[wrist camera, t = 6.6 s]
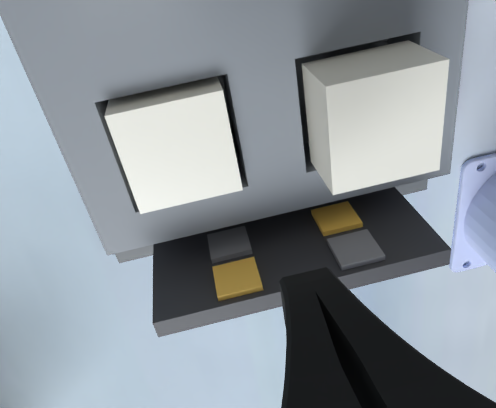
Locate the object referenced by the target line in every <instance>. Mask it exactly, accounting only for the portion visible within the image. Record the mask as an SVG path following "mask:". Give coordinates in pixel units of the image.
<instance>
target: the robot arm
mask: <svg viewBox="0 0 496 408" xmlns="http://www.w3.org/2000/svg"><path fill="white" fill-rule="evenodd" d="M481 163H483V166H482V167H481V168H479V169H477V167H478V165H479V164H481ZM465 262H468V263H467V264H465V265H463V264H464V263H465ZM484 265H489V266H490V267H491V268H492V269H493V270H494V272H495V273H496V153H493V154H489V155H485V156H481V157H476V158H472V159H469V160H467V161H466V162H465V163H464V164H463V165H462V167H461V173H460V181H459V189H458V197H457V206H456V214H455V222H454V230H453V239H452V247H451V256H450V264H449V268H450V269H451V270H452V271H453V272H461V271H464V270H468V269H472V268H476V267H480V266H484ZM279 285H280V291H281V298H282V305H283V312H284V319H285V326H286V336H287V346H286V366H285V380H284V390H283V399H282V407H281V408H496V403H495V402H494V401H492V400H490V399H488V398H487V397H485V396H483V395H482V394H480V393H478V392H477V391H475V390H473V389H472V388H470V387H469V386H467V385H465V384H464V383H462V382H461V381H459V380H458V379H456V378H455V377H453V376H452V375H450V374H449V373H447V372H446V371H444V370H443V369H442V368H440V367H439V366H437V365H436V364H435V363H433V362H432V361H430V360H429V359H428V358H426V357H425V356H424V355H422V354H421V353H420V352H418V351H417V350H416V349H415V348H413V347H412V346H411V345H409V344H408V343H407V342H406V341H405V340H403V339H402V338H401V337H400V336H398V335H397V334H396V333H395V332H394V331H392V330H391V329H390V328H389V327H388V326H387V325H385V324H384V323H383V322H382V321H381V320H380V319H379V318H378V317H377V316H376V315H374V314H373V313H372V312H371V311H370V310H369V309H368V308H367V307H366V306H365V305H364V304H363V303H362V302H361V301H360V300H359V299H358V298H357V297H356V296H355V295H354V294H353V293H352V292H351V291H350V290H349V289H348V288H347V287H346V286H345V285H344V284H343V283H342V282H341V281H340V280H339V279H338V278H337V277H336V275H335V274H334V273H333V272H332V271H331V270H330V269H329V268H327V267H324V268H320V269H316V270H312V271H307V272H303V273H299V274H294V275H290V276H286V277H282V279H281V280H280V281H279Z"/></svg>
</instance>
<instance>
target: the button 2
mask: <svg viewBox="0 0 496 408" xmlns="http://www.w3.org/2000/svg"><path fill="white" fill-rule="evenodd" d="M449 60H450V59H448V58H446V57H444V56H442V55H439V54H437V53H435V52H433V51H431V50H429V49H426V48H424V47H422V46H420V45H418V44H416V43H413V42H411V41H409V40H407V41H402V42H398V43H393V44H389V45H384V46H379V47H375V48H370V49H366V50H361V51H357V52H352V53H347V54H343V55H338V56H334V57H329V58H325V59H320V60H315V61H311V62H306V63H302V74H303V84H304V95H305V106H306V116H307V127H308V137H309V148H310V158H311V163H312V164H313V166H314V167H315V169H316V170H317V172H318V173H319V175H320V176H321V178H322V179H323V181H324V182H325V184H326V185H327V187H328V189H329V190H330V192H331V193H332V195H336V194H341V193H345V192H349V191H353V190H357V189H362V188H366V187H370V186H374V185H378V184H383V183H387V182H391V181H395V180H399V179H404V178H408V177H412V176H416V175H421V174H425V173H429V172H433V171H437V170H440V159H441V148H442V137H443V126H444V115H445V104H446V93H447V82H448V71H449Z"/></svg>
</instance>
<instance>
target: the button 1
mask: <svg viewBox="0 0 496 408" xmlns="http://www.w3.org/2000/svg"><path fill="white" fill-rule="evenodd" d="M104 117H105V119H106V122H107V125H108V128H109V130H110V133H111V136H112V138H113V141H114V144H115V147H116V149H117V152H118V155H119V158H120V160H121V163H122V166H123V168H124V171H125V174H126V177H127V179H128V182H129V185H130V188H131V190H132V193H133V196H134V199H135V201H136V204H137V207H138V209H139V212H140V214H143V213H147V212H152V211H156V210H160V209H165V208H169V207H173V206H177V205H182V204H186V203H190V202H194V201H199V200H203V199H207V198H212V197H216V196H220V195H224V194H229V193H233V192H237V191H241V190H243V188H242V183H241V178H240V173H239V168H238V163H237V158H236V153H235V148H234V143H233V138H232V133H231V128H230V123H229V118H228V113H227V108H226V103H225V98H224V93H223V89H222V87H221V84H220V82H219V79H218V77H217V76H215V77H210V78H205V79H201V80H196V81H192V82H187V83H183V84H178V85H173V86H169V87H164V88H160V89H155V90H150V91H146V92H141V93H137V94H132V95H128V96H123V97H118V98H114V99H109V101H108V104H107V108H106V112H105V116H104Z"/></svg>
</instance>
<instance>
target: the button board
mask: <svg viewBox="0 0 496 408" xmlns="http://www.w3.org/2000/svg"><path fill="white" fill-rule="evenodd" d="M467 10H468V0H0V16H1V18H2V20H3V22H4V25H5V27H6V29H7V31H8V34H9V36H10V38H11V40H12V43H13V45H14V47H15V49H16V52H17V54H18V56H19V58H20V61H21V63H22V65H23V67H24V70H25V72H26V74H27V76H28V78H29V81H30V83H31V85H32V87H33V90H34V92H35V94H36V96H37V99H38V101H39V103H40V105H41V108H42V110H43V112H44V114H45V117H46V119H47V121H48V123H49V126H50V128H51V130H52V132H53V135H54V137H55V139H56V141H57V144H58V146H59V148H60V150H61V153H62V155H63V157H64V159H65V162H66V164H67V166H68V168H69V170H70V173H71V175H72V177H73V179H74V182H75V184H76V186H77V188H78V191H79V193H80V195H81V197H82V200H83V202H84V204H85V206H86V209H87V211H88V213H89V215H90V218H91V220H92V222H93V224H94V227H95V229H96V231H97V233H98V236H99V238H100V240H101V242H102V245H103V247H104V249H105V251H106V254H107V255H111V254H115V255H116V257H117V259H118V262H119V263H122V262H126V261H130V260H134V259H139V258H143V257H147V256H151V255H153V325H154V328H155V330H156V333H157V335H158V337H161V336H165V335H169V334H173V333H177V332H181V331H185V330H189V329H193V328H197V327H201V326H205V325H209V324H213V323H217V322H221V321H225V320H229V319H233V318H237V317H241V316H245V315H249V314H253V313H257V312H261V311H265V310H269V309H273V308H277V307H281V306H283V305H282V298H281V291H280V285H279V281H280V280H281V279H282V277H286V276H290V275H294V274H299V273H303V272H307V271H312V270H316V269H320V268H324V267H327V268H329V269H330V270H331V271H332V272H333V273H334V274H335V275H336V277H337V278H338V279H339V280H340V281H341V282H342V283H343V284H344V285H345V286H346V287H347V288H348V289H353V288H357V287H361V286H365V285H369V284H373V283H377V282H381V281H385V280H389V279H393V278H397V277H401V276H405V275H409V274H412V273H416V272H420V271H424V270H428V269H432V268H436V267H440V266H444V265H448V264H450V256H451V248H450V247H449V246H448V245H447V244H446V243H445V242H444V241H443V240H442V238H441V237H440V236H439V235H438V234H437V233H436V232H435V231H434V230H433V229H432V227H431V226H430V225H429V224H428V223H427V222H426V221H425V220H424V219H423V218H422V216H421V215H420V214H419V213H418V212H417V211H416V210H415V209H414V208H413V207H412V205H411V204H410V203H409V202H408V201H407V200H406V199H405V198H404V197H403V196H402V195H406V194H410V193H414V192H418V191H422V190H426V189H427V180H428V179H430V178H434V177H438V176H443V175H447V174H450V169H451V160H452V150H453V141H454V132H455V122H456V113H457V104H458V94H459V85H460V75H461V66H462V57H463V47H464V38H465V29H466V19H467ZM407 40H409V41H411V42H413V43H416V44H418V45H420V46H422V47H424V48H426V49H429V50H431V51H433V52H435V53H437V54H439V55H442V56H444V57H446V58H448V59H450V60H449V71H448V82H447V93H446V104H445V115H444V126H443V137H442V148H441V159H440V170H437V171H433V172H429V173H425V174H421V175H416V176H412V177H408V178H404V179H399V180H395V181H391V182H387V183H383V184H378V185H374V186H370V187H366V188H362V189H357V190H353V191H349V192H345V193H341V194H336V195H332V193H331V192H330V190H329V189H328V187H327V185H326V184H325V182H324V181H323V179H322V178H321V176H320V175H319V173H318V172H317V170H316V169H315V167H314V166H313V164H312V163H311V158H310V148H309V137H308V127H307V116H306V106H305V95H304V84H303V74H302V63H306V62H311V61H315V60H320V59H325V58H329V57H334V56H338V55H343V54H347V53H352V52H357V51H361V50H366V49H370V48H375V47H379V46H384V45H389V44H393V43H398V42H402V41H407ZM215 76H217V77H218V79H219V82H220V84H221V87H222V89H223V93H224V98H225V103H226V108H227V113H228V118H229V123H230V128H231V133H232V138H233V143H234V148H235V153H236V158H237V163H238V168H239V173H240V178H241V183H242V188H243V190H241V191H237V192H233V193H229V194H224V195H220V196H216V197H212V198H207V199H203V200H199V201H194V202H190V203H186V204H182V205H177V206H173V207H169V208H165V209H160V210H156V211H152V212H147V213H143V214H140V212H139V209H138V207H137V204H136V201H135V199H134V196H133V193H132V190H131V188H130V185H129V182H128V179H127V177H126V174H125V171H124V168H123V166H122V163H121V160H120V158H119V155H118V152H117V149H116V147H115V144H114V141H113V138H112V136H111V133H110V130H109V128H108V125H107V122H106V119H105V117H104V116H105V112H106V108H107V104H108V101H109V99H114V98H118V97H123V96H128V95H132V94H137V93H141V92H146V91H150V90H155V89H160V88H164V87H169V86H173V85H178V84H183V83H187V82H192V81H196V80H201V79H205V78H210V77H215Z"/></svg>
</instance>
